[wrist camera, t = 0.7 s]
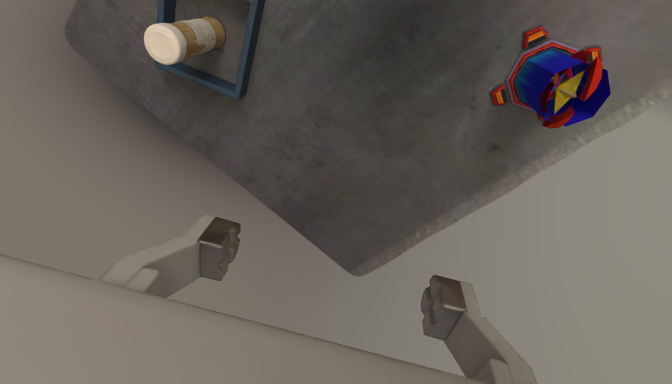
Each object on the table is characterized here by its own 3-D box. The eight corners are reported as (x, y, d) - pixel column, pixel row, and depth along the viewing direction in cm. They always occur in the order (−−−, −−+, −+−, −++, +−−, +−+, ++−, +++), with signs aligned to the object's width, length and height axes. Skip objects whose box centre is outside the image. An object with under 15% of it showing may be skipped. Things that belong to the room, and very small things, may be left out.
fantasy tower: (554, 127, 51) (595, 162, 41) (483, 102, 50) (506, 131, 40) (611, 49, 44) (675, 66, 34) (529, 19, 44) (571, 28, 34)
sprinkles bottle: (206, 52, 52) (155, 69, 41) (192, 20, 50) (134, 30, 39) (231, 44, 51) (185, 60, 40) (218, 11, 49) (166, 19, 38)
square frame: (172, -42, 46) (159, -43, 44) (265, -2, 47) (258, -2, 45) (165, 62, 54) (154, 66, 52) (245, 94, 55) (238, 99, 53)
